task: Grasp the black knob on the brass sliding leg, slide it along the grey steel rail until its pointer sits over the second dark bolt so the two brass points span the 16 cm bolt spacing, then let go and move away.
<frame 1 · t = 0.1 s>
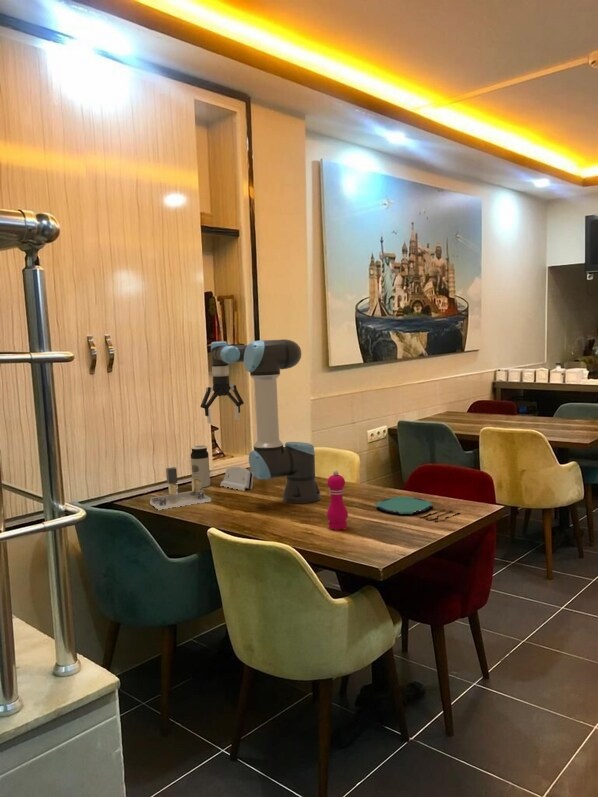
hand: (223, 421, 294), 28 cm above the table, tool pointing down, fingers open, 13 cm apart
bolt plate: (180, 502, 262), on the table
teal flat plaque: (414, 512, 236), on the table
travel mug: (201, 486, 290), on the table
sliding leg: (173, 482, 261), point 9 cm above the table, slide at 6.0 cm
pepper mill: (337, 528, 220), on the table
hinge: (238, 487, 285), on the table
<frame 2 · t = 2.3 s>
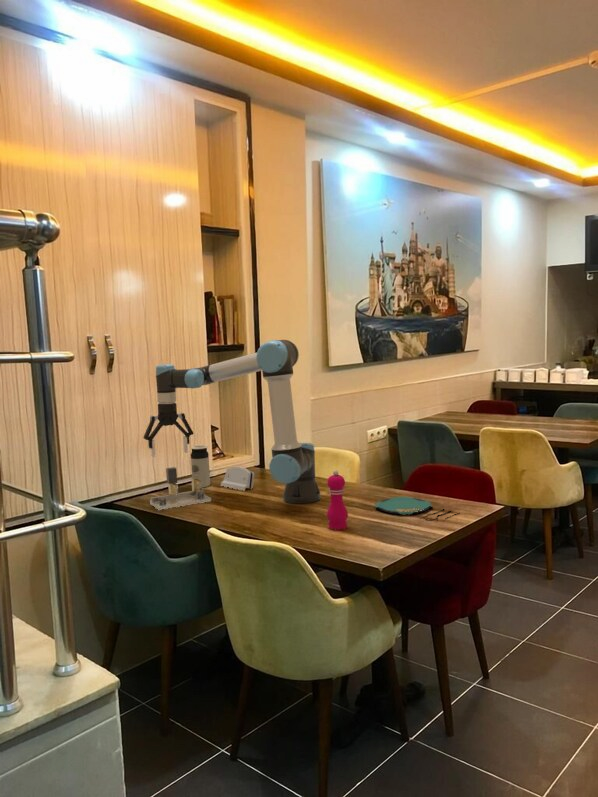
hand: (169, 454, 262), 20 cm above the table, tool pointing down, fingers open, 13 cm apart
nothing on the table moved.
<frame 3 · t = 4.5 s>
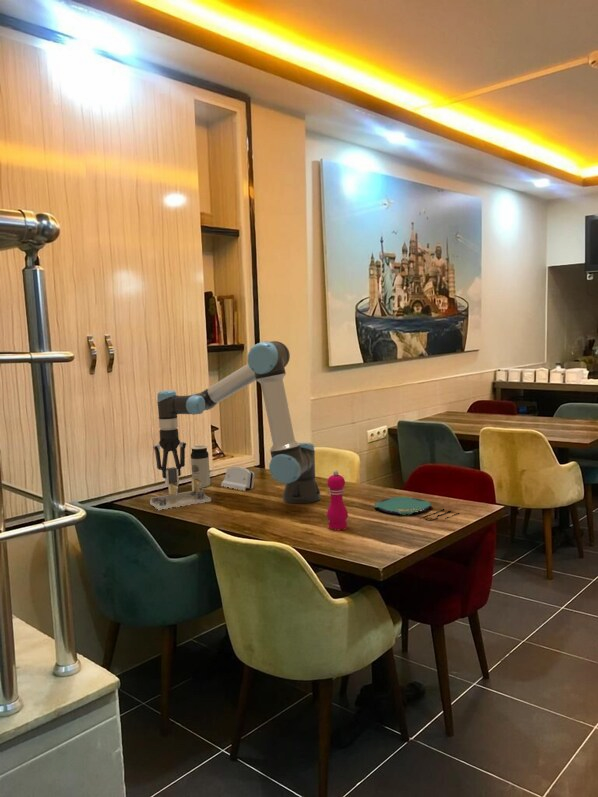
hand: (172, 484, 263), 7 cm above the table, tool pointing down, fingers closed on sliding leg, 3 cm apart
sliding leg: (173, 482, 261), point 9 cm above the table, slide at 6.0 cm, touching gripper
everything else where it was.
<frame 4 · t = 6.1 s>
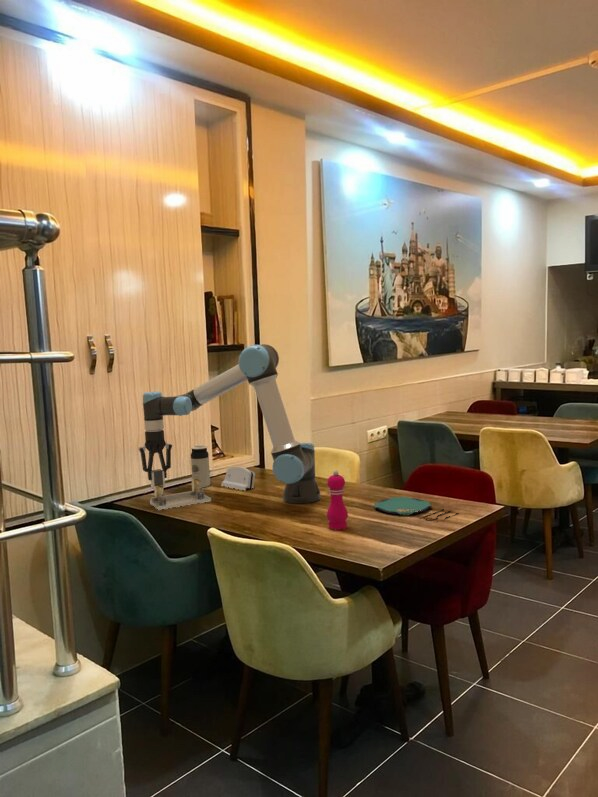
hand: (158, 486, 260), 7 cm above the table, tool pointing down, fingers closed on sliding leg, 3 cm apart
sliding leg: (159, 484, 258), point 9 cm above the table, slide at 11.9 cm, touching gripper
everything else where it was.
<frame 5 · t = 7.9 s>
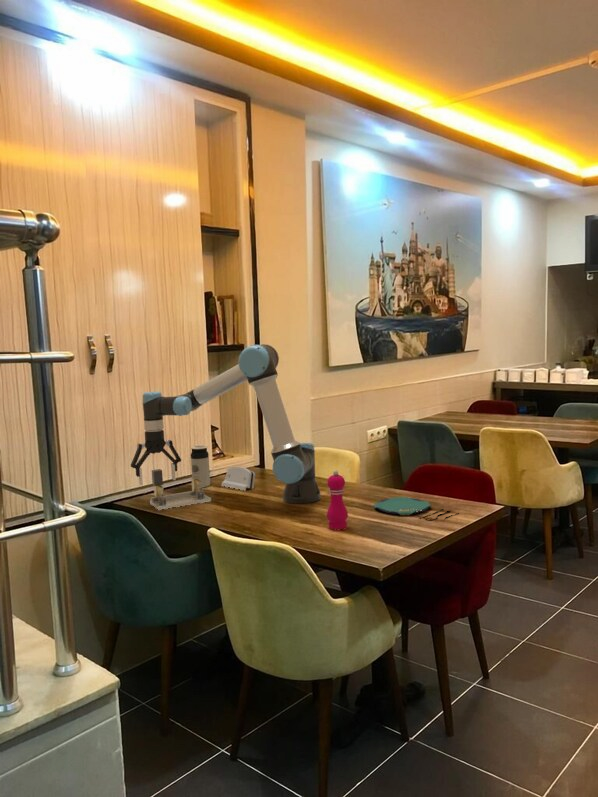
hand: (157, 481, 260), 9 cm above the table, tool pointing down, fingers open, 13 cm apart
sliding leg: (159, 484, 258), point 9 cm above the table, slide at 12.0 cm
everything else where it was.
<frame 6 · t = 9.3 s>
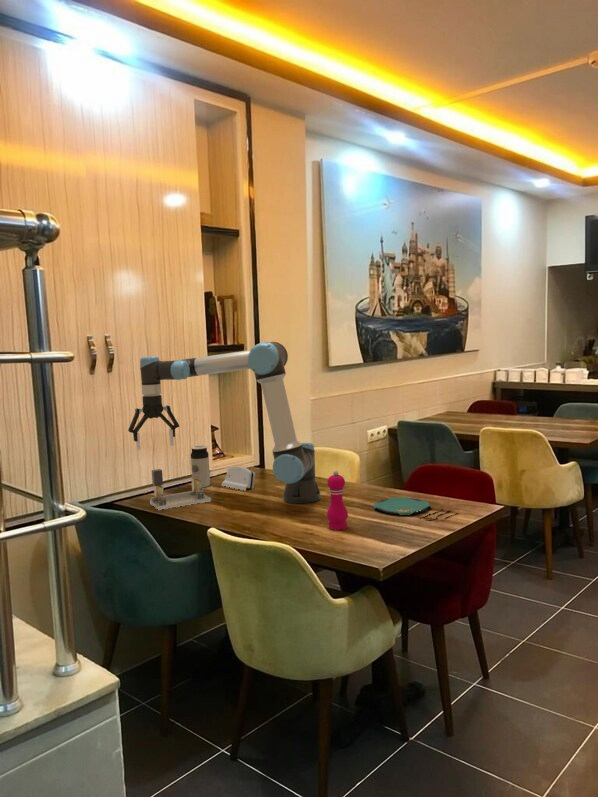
hand: (155, 447, 259), 23 cm above the table, tool pointing down, fingers open, 13 cm apart
nothing on the table moved.
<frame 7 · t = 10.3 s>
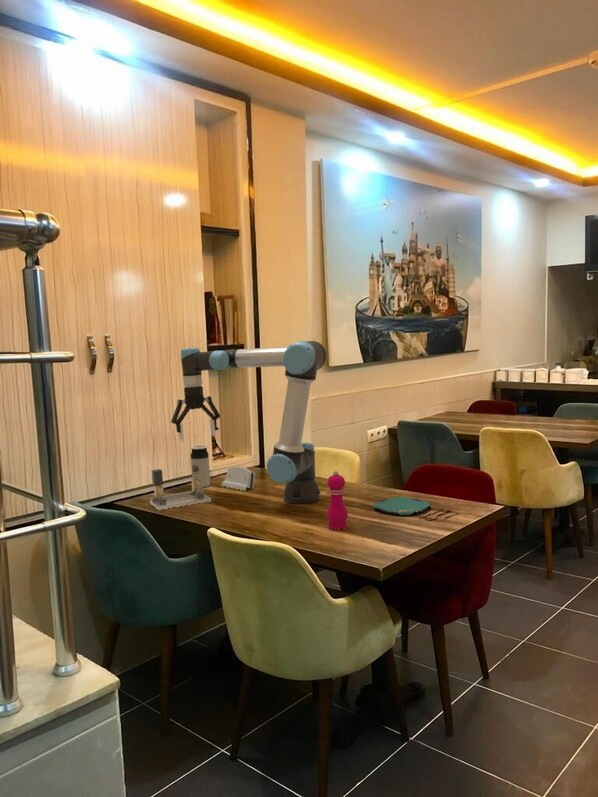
hand: (197, 438, 260), 26 cm above the table, tool pointing down, fingers open, 13 cm apart
nothing on the table moved.
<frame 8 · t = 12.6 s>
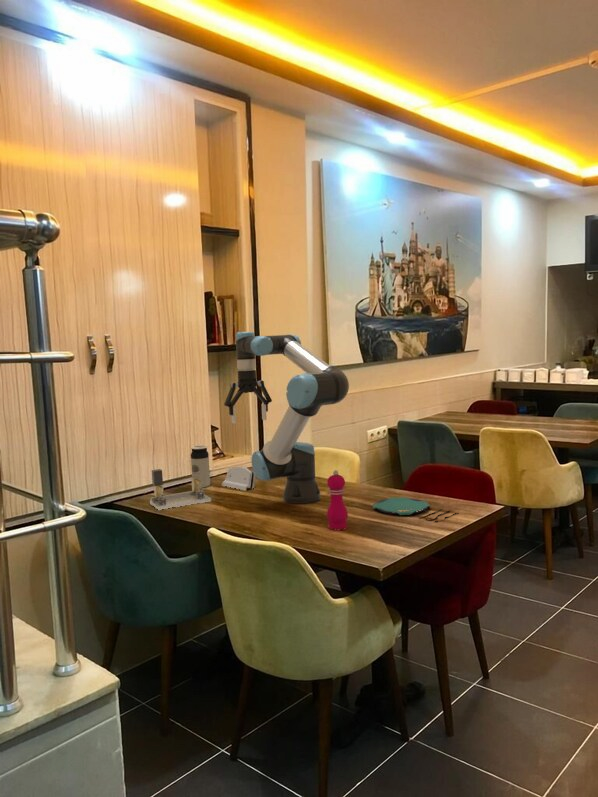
hand: (249, 421, 263), 32 cm above the table, tool pointing down, fingers open, 13 cm apart
at the end: sliding leg slide at 12.0 cm; the gripper is holding nothing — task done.
